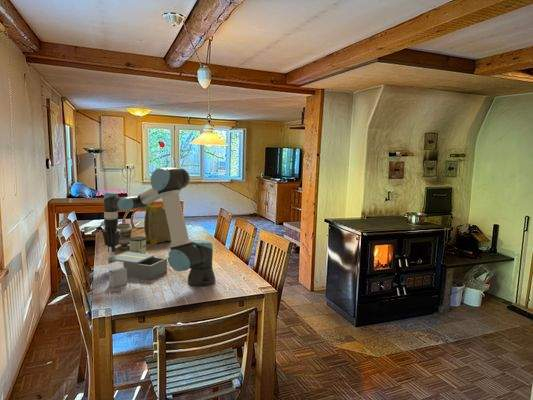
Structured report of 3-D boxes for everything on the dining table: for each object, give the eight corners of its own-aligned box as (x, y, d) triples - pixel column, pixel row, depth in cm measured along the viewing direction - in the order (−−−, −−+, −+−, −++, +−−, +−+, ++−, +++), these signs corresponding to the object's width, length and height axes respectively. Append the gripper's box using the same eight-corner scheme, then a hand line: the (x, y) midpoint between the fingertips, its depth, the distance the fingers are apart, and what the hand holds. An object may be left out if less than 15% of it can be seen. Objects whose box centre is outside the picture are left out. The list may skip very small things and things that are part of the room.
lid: (154, 259, 216) (154, 254, 215) (137, 267, 200) (137, 262, 200) (126, 256, 221) (126, 251, 221) (107, 263, 206) (107, 258, 205)
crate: (166, 271, 214) (166, 258, 213) (150, 280, 198) (150, 266, 197) (141, 268, 219) (141, 255, 218) (123, 276, 203) (123, 262, 203)
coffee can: (131, 256, 243) (131, 236, 242) (147, 256, 245) (147, 236, 244) (128, 260, 233) (128, 239, 232) (144, 260, 235) (144, 239, 233)
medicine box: (123, 282, 194) (122, 266, 193) (127, 284, 191) (127, 268, 190) (108, 285, 187) (108, 269, 186) (113, 288, 185) (113, 271, 184)
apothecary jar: (113, 247, 265) (112, 223, 263) (129, 245, 273) (129, 222, 271) (118, 250, 256) (118, 226, 254) (135, 248, 264) (135, 224, 262)
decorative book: (166, 239, 297) (166, 203, 294) (173, 241, 289) (173, 205, 286) (143, 242, 283) (143, 205, 279) (150, 245, 275) (150, 206, 272)
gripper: (124, 218, 214) (125, 256, 216) (106, 216, 217) (107, 254, 220) (115, 220, 206) (116, 259, 209) (97, 218, 210) (98, 257, 213)
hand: (111, 257), depth 214 cm, fingers closed
